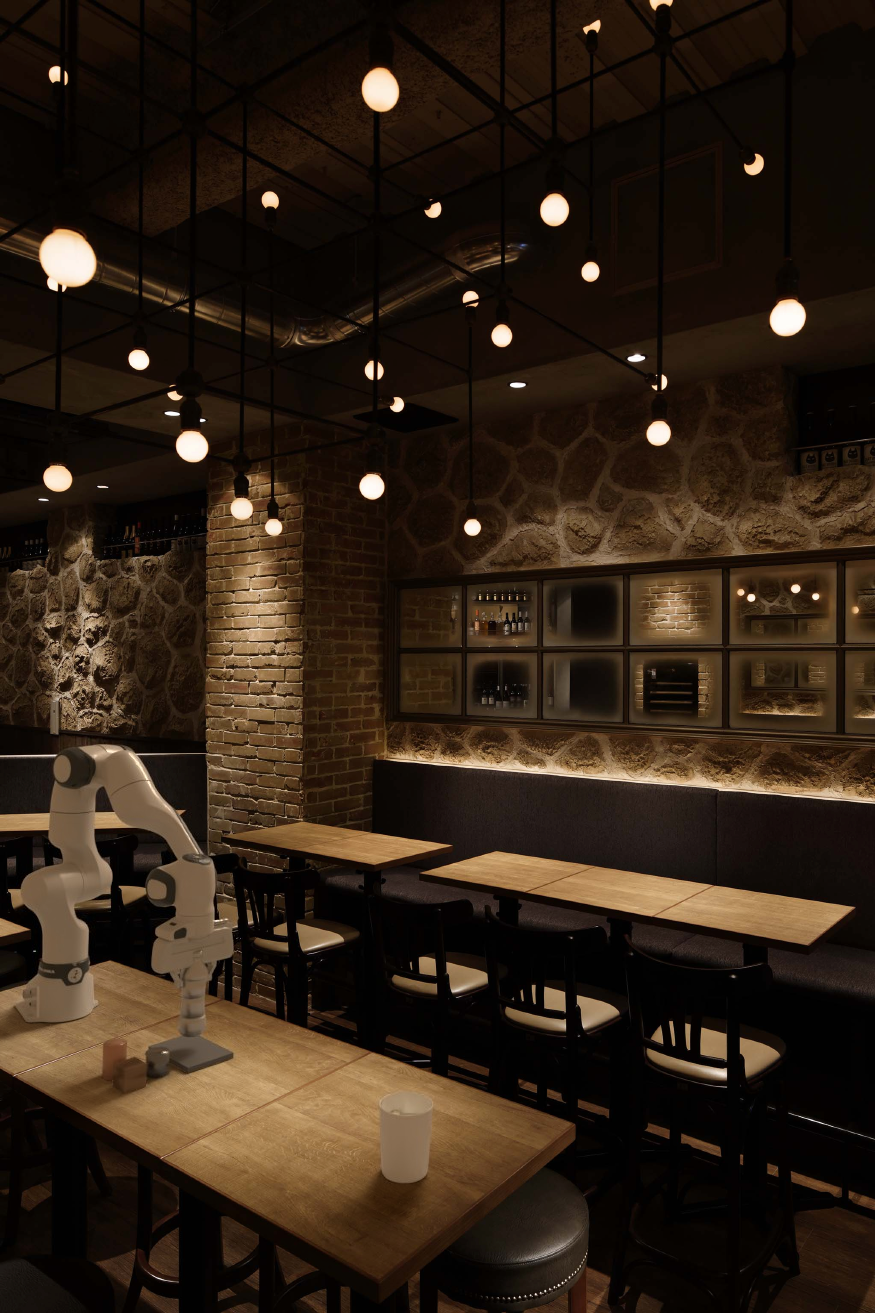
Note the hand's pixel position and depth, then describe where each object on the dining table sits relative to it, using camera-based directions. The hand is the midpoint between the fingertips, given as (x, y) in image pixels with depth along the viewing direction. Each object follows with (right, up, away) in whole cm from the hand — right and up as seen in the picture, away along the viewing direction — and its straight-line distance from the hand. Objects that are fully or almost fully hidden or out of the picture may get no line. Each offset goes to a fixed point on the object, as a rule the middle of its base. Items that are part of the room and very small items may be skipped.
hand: (193, 984), depth 208 cm
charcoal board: (0, -16, -1) cm, 16 cm away
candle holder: (+52, -16, -49) cm, 73 cm away
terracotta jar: (-14, -15, -13) cm, 24 cm away
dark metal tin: (-5, -16, -11) cm, 20 cm away
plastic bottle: (0, -12, 0) cm, 12 cm away
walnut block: (-9, -16, -18) cm, 25 cm away
